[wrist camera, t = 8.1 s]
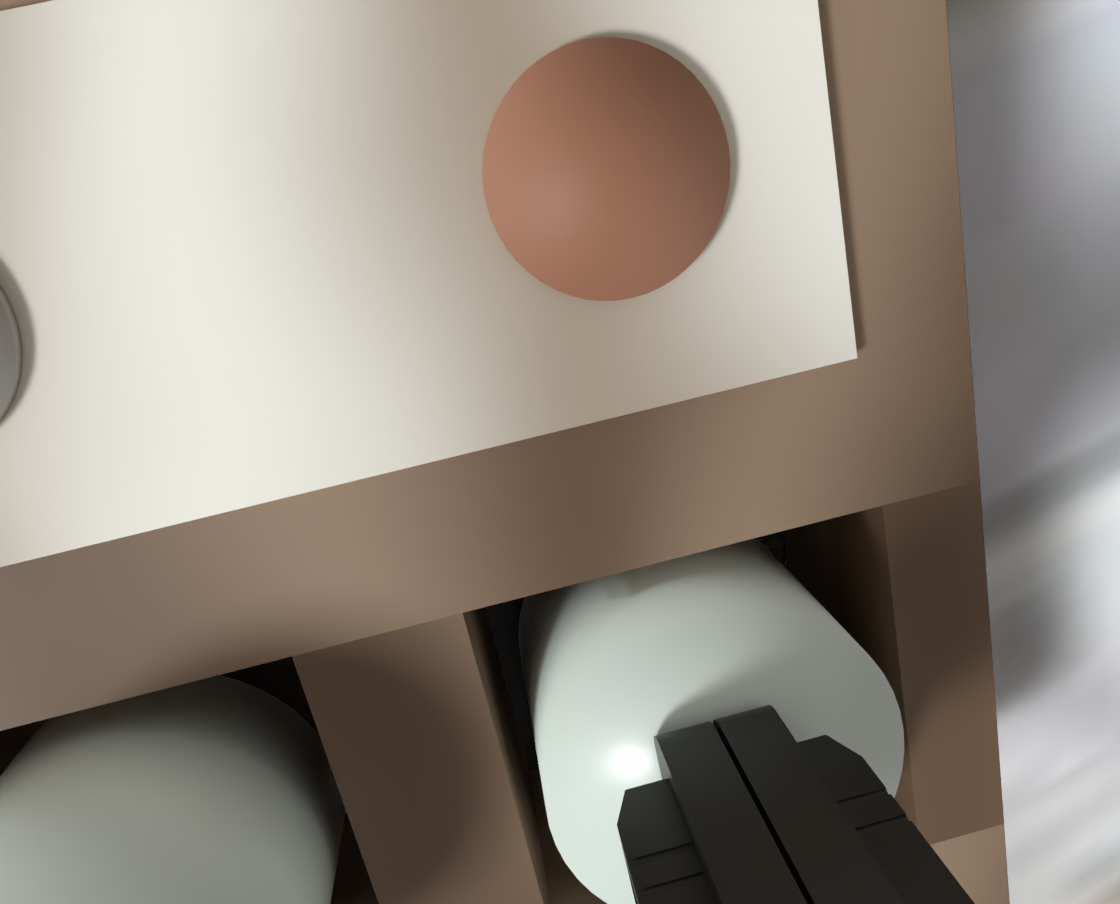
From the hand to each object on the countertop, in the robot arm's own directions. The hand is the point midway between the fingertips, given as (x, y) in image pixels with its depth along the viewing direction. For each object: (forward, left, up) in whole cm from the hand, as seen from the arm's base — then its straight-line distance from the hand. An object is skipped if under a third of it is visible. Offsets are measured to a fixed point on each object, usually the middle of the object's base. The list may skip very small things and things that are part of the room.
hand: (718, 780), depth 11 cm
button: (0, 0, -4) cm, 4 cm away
